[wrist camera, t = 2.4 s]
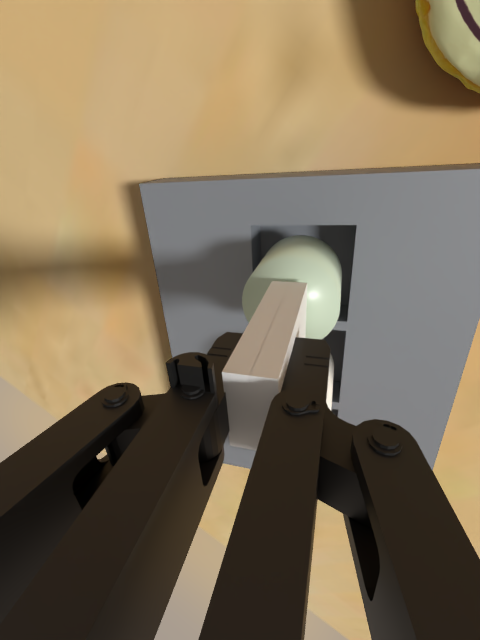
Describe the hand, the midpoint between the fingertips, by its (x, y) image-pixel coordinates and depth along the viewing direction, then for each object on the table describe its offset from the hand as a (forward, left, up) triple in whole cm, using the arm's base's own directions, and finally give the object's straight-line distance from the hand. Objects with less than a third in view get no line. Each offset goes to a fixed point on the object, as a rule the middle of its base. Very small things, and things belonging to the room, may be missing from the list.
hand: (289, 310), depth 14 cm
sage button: (0, 0, -5) cm, 5 cm away
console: (0, -6, -8) cm, 10 cm away
